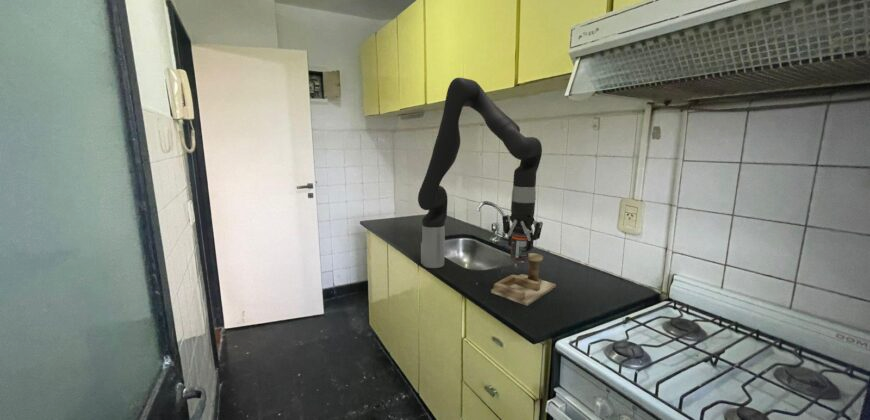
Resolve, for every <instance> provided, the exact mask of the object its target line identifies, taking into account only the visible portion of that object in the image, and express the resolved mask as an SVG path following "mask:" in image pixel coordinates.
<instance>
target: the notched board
mask: <svg viewBox="0 0 870 420" xmlns="http://www.w3.org/2000/svg"><path fill="white" fill-rule="evenodd" d="M525 277H528V274H524V273H521V274H519V275H517V274H514V273H513V274H510V275H508V276H506V277H504V278H503V279H501V280H499V281H497V282H495V283H493V288H491V289H490V293H491V294H493V295H497V296H499V297H502V298H504V299H507V300H510V301H513V302H515V303H518V304H521V305H523V306H525V307H526V306H527V307H528V306H529V305H531V304H532V303H534V302H535V301H537V300H539V299H540V298H542V297H543V296H544V295H546V294H547V293H549V292H551V290H554V289H555V288H556V287H557V284H556V283H553V282H550V281H546V280H544V279H543V280H542V279H541V284H540V283H539V282H536V281H533V280H530V279H526V278H525ZM553 288H554V289H553Z"/></svg>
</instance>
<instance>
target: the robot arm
mask: <svg viewBox="0 0 870 420" xmlns="http://www.w3.org/2000/svg"><path fill="white" fill-rule="evenodd" d="M464 107H469V108H471V109H473V110H474V111H476V112H477V113H478V114H479V115H480V116H481V117H482V118H483V120H484V123H485V124H486V126H487V127H488V129H489V131H491V133H493V134H494V135H495V136H496V137H497V138H498V139H499V140H501V142H503V145H504V146H505V148H506V150H507V151H508V153H509V154H511V156H512V157H514V158H515V159H516V160H518V161H519V160H520V164H519V166H518V167H516V168H515V169H514V172H513V184H512V191H511V200H510V201H511V203H510V204H511V205H510V212H511V214H510V215H508V214H506V215H503V216H502V228H503V233H504V234H506V235H507V236H508V240H507V244H508V246H509V247H510V248H511V239H512V233H513V232H514V231H515V227H516V226H517V227H521V228H523V230H524V233H525V234H526V236H527V239H528V240H527V247H526V251H528V252H529V253H530V252H531V251H532V250H533V248H534V241H537V240H539V239H540V237H541V234H542V230H543V224H544V223H543V222H542V221H537V220H535V217H534V216H535V209H536V199H537V198H536V197H537V195H536V193H537V192H536V184H537V183H536V182H537V172H538V170H539V165H540V163H541V159H542V153H543V147H542V146H543V145H542V142H541V141H540V139H538V138H537V137H534V136H524V135H523V134H522V133H521V129H520V126H519V125H518V124H517V123H516V122H515V121H514V120H513V119H511V118H510V116H508V115H507V114H506V113H505V112H504V111H502V109H500V108H499V107H498V106H497V105H496V103H494V101H492V99H491V98H490V97H489V96H488V94H487V93H486V92H485V91H484V89H483V87H481V85H480V84H479V83H478V82H477V81H475V80H473V79H471V78H470V79H469V78H464V77H455V78H454V79H453V80H451V82H450V83H449V85H448V88H447V90H446V95H445V101H444V107H443V111H442V112H443V113H442V115H441V116H442V117H441V120H440V124H439V128H438V133H437V136H436V139H435V142H434V146H433V149H432V153H431V158H430V161H429V164H428V167H427V170H426V173H425V176H424V178H423V181H422V183H421V186H420V189H419V192H418V195H417V202H418V206H419V207H420V208H421V209H422V210H424V211H428V212H427V214H425V215H424V216H423V218H422V219H421V225H422V232H421V233H422V234H421V235H422V241H421V242H420V264H421V265H422V266H423V267H425V268H427V269H428V268H429V269H439V268H442V267H444V266H445V247H446V246H445V244H446V243H445V242H446V240H445V239H446V237H445V236H446V234H445V232H446V231H445V230H446V229H445V228H446V226H445V225H446V224H445V223H446V220H447V216H448V193H447V190H446V189H445V188H444V187H443V185H440V184H441V182H442V180H443V178H444V177H445V176H446V174H447V173H448V171H450V169H451V168H452V166H453V165H454V163H455V161H456V159H457V156H458V153H459V151H460V150H459V149H460V148H461V147H460V146H461V135H460V133H461V132H460V118H461V114H462V110H463V108H464ZM533 228H534V230H533Z"/></svg>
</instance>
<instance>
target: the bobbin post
mask: <svg viewBox="0 0 870 420" xmlns="http://www.w3.org/2000/svg"><path fill="white" fill-rule="evenodd" d="M543 259H544V255H542V254H539V253H533V252H529V256H528V259H527V260H526V261H528V266H527V268H528V270H527V272H528V273H527V276H528V277H525V278H526V279H530V280H533V281H536V282H539V283H540V284H541V280H542V279H541V278H540V277H539V272H540V271H539V270H540V269H539V268H540V262H542V261H543Z"/></svg>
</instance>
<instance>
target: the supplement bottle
mask: <svg viewBox="0 0 870 420" xmlns="http://www.w3.org/2000/svg"><path fill="white" fill-rule="evenodd" d="M527 240H528V239H527V236H526V234H525V233H524V230H523V228H521V227H517V226H516V227H515V231H514V232H513V233H512V239H511V247H510V258H511V259H512V260H514V261H517V262H526V261H528V260H527V259H528V256H529V253H530V251H529V252H528V251H526V247H527Z"/></svg>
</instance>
